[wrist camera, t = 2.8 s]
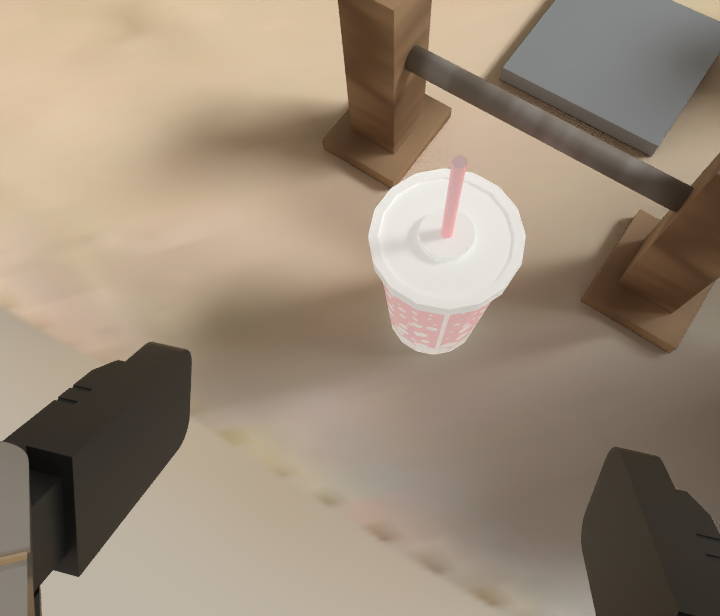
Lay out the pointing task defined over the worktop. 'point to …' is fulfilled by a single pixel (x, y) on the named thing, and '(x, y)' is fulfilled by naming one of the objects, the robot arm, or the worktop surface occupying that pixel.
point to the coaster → (617, 64)
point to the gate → (427, 116)
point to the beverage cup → (444, 253)
